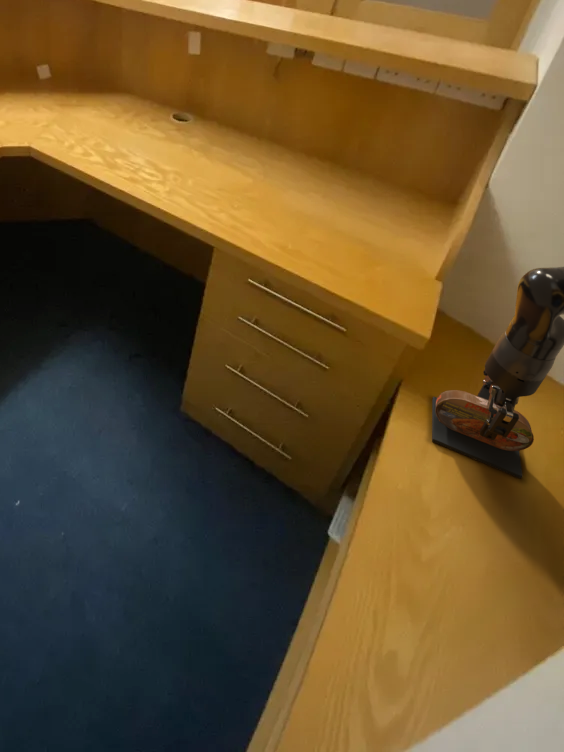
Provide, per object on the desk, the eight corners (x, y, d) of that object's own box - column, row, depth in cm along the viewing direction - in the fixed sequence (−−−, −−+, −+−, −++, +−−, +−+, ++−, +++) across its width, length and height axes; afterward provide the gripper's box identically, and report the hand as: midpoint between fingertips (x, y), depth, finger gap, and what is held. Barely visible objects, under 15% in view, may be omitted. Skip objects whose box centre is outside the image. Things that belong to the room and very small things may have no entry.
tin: (429, 420, 99) (443, 394, 94) (429, 407, 101) (443, 381, 97) (522, 458, 92) (542, 432, 88) (520, 443, 95) (539, 417, 91)
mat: (514, 430, 98) (516, 428, 97) (520, 478, 90) (523, 476, 90) (432, 398, 104) (433, 396, 103) (431, 441, 96) (433, 438, 96)
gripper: (490, 322, 93) (460, 379, 101) (497, 383, 82) (462, 441, 90) (540, 338, 90) (505, 396, 98) (554, 404, 79) (513, 462, 87)
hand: (484, 417), depth 94 cm, fingers open, 7 cm apart
